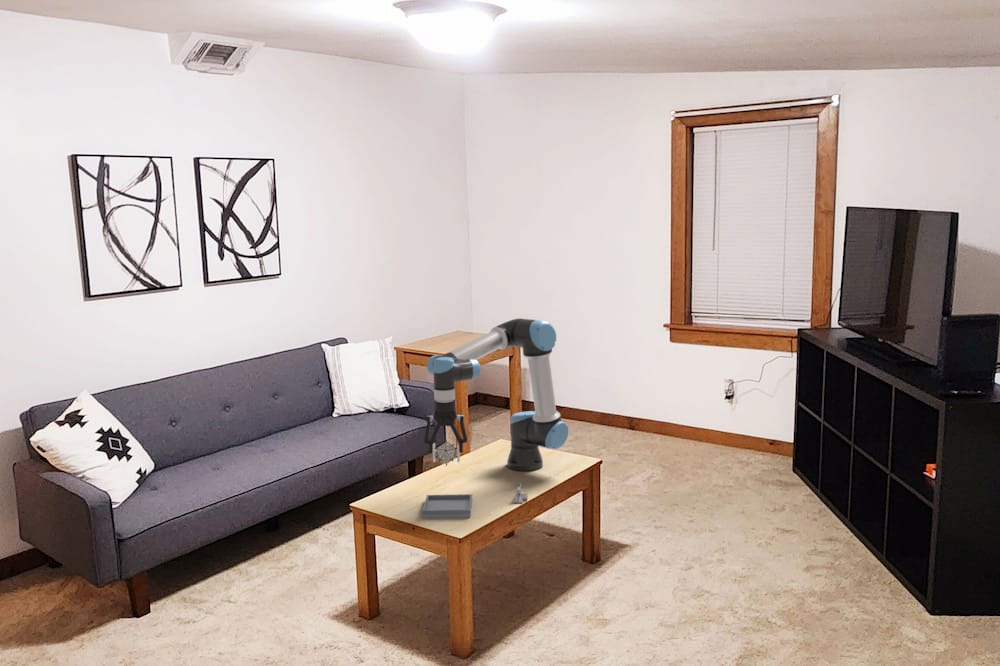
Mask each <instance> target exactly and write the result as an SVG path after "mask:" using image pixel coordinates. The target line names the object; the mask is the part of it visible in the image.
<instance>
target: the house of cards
mask: <svg viewBox="0 0 1000 666" xmlns="http://www.w3.org/2000/svg"><path fill="white" fill-rule="evenodd" d="M516 484H517V485H516V487H517V488H516V489H517V490H516V493H515V495H514V496H513V501H512V504H524V501H525V502H527V501H528V493H524V492H522V490H523V489H522V483H521V482H519V481H518V482H516Z"/></svg>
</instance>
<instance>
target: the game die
mask: <svg viewBox="0 0 1000 666" xmlns="http://www.w3.org/2000/svg"><path fill="white" fill-rule="evenodd" d="M435 451H436V459H439V460H438V462H443V464H445V466H446V467H447V466H448V464H449V463H450V462H451V461H452V462H454V459H456V458H457V447H455V443H453V444H451V443H450V442H448V440H447V439H445V442H443V443H442V444H440V443H439V446H438V447H435Z"/></svg>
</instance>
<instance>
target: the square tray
mask: <svg viewBox="0 0 1000 666" xmlns="http://www.w3.org/2000/svg"><path fill="white" fill-rule="evenodd" d="M473 499H474V498H473V494H471V493H470V494H426V497H425V500H424V504H423V506H422V509H421V515H422V516H421V518H422V519H471V517H472V515H471V514H472V510H473V509H472V507H473Z"/></svg>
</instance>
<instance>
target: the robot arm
mask: <svg viewBox="0 0 1000 666" xmlns="http://www.w3.org/2000/svg"><path fill="white" fill-rule="evenodd" d="M556 342H557V333H556V329H555V327H554V326H553V325H552V324H551V323H550V322H548V321H546V320H545V321H544V320H542V319H528V318H514V319H511V320H508V321H504V322H503V323H501V324H498V325H496V326H494V327H492V328H491V329H490V331H489V332H488V333H485V334H483V335H481V336H480V337H477V338H475V339H473V340H471V341H469V342H467V343H464V344H462V345H461V346H459V347H456V348H454V349H453V350H451V351H449V352H447V353H444V354H442V355H437V354H436V355H432V356H430V357H429V358H428V359H427V362H426V370H427V372H428V373H429V374H431V375H433V396H434V397H433V398H434V402H433V404H434V413H433V415H427V416H426V418H425V419H426V427H425V428H426V429H425V434H424V441H423V442H424V443H425V444H428V445H429V454H432V463H436V462H437V460H436V459H437V458H436V456H437V451H436V449H435V448H436V443H435V442H434V441H435V440H436V439H435V438H436V437H437V434H438V432H439V429H440V427H450V428H451V430H452V432H453V434H454V436H455V438H456V440H457V444H456V448H457V449H456V456H457V457H456V458H457V463H460V461H461V454H462V453H463V451H464V450H463V447H464V446H463V444H465V443H467V442H468V436H467V432H466V426H465V422H464V421H465V415H464V414H457V413H456V401H455V399H456V383H458V382H462V381H463V382H464V381H468V380H469V381H470V380H474V379H477V378H478V377H479V376H480V374H481V364H480V363H479V361H478V360H480V359H481V358H483V357H485V356H487V355H489V354H491V353H493V352H495V351H497V350H505V349H507V348H514V347H515V348H521V349H522V354H523V356H524V357H525V358H527V363H528V368H529V377H530V382H531V383H530V385H531V389H532V390H531V391H532V398H533V405H534V411H533V410H528V411H521V412H516V413H513V414H512V415H511V416H510V423H509V425H510V426H509V427H510V451H509V453H508V458H507V461H506V462H507V463H506V464H507V466H506V467H507V468H509V469H511V470H514V471H534V470H538V469H541V468H543V466H544V463H543V462H544V461H543V457H542V454H541V452H540V447H542V448H546V449H550V450H551V449H553V450H558V449H560V448H561V447H563V446H564V444H565V443H566V441H567V439H568V437H569V426H568V424H567V423H566V422H564V421H563V420H562V416H561V413H560V412H559V411H557V407H556V406H557V405H556V400H555V390H554V385H553V384H554V383H553V377H552V370H551V369H552V368H551V361H550V355H551V353H552V352H553V348H555V345H556ZM456 419H457V421H458V422H459V425H460V430H461V434H462V437H461V434H460V432H459V430H458V429H457V428H458V427H456V424H455V421H456ZM434 420H435V422H436V423H437V424H436V426H435V429H434V431H433V433H432V436H431V438H430V439H429V437H430V431H431V426H432V424H431V423H432V422H433V421H434Z"/></svg>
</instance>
